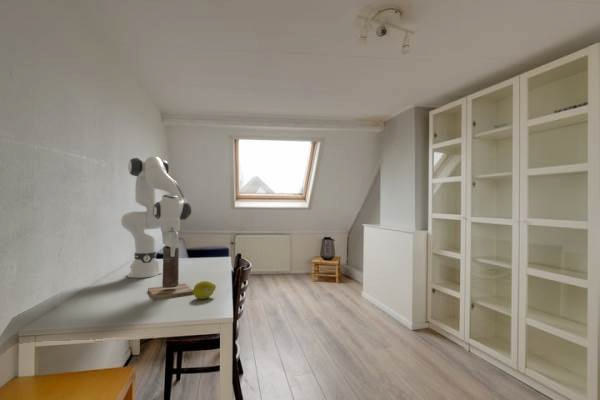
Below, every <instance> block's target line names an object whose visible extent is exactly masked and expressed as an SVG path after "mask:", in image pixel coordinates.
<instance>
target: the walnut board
mask: <svg viewBox="0 0 600 400" xmlns="http://www.w3.org/2000/svg"><path fill="white" fill-rule="evenodd" d="M147 291H148V293H149V296H151V298H152V300H153V301H157V299H159V300H163V299H164V298H165V299H171V297H172V298H177V297H184V296H190V295H194V294H193V292H192V291H193V288H191V287H190V286H189V285H188V284H187V283H184V282H183V283H178V285H177V286H176V287H171V288H163V287H162V286H154V287H148V288H147Z"/></svg>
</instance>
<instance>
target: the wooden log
mask: <svg viewBox="0 0 600 400" xmlns="http://www.w3.org/2000/svg"><path fill="white" fill-rule="evenodd" d="M179 250H180V249H179V247H178V248H175V256H174V257H171V256H170V253H171V250H170V247H168V246H166V245H165V246H163V249H162V251H163V252H162V255H163V256H162V282H161V283H162V287H163V288H171V287H176V286H177V285H178V284H179V273H180V272H179V262H180V261H179V260H180V259H179V257H180V256H179V255H180V254H179Z"/></svg>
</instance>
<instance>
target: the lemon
mask: <svg viewBox="0 0 600 400" xmlns="http://www.w3.org/2000/svg"><path fill="white" fill-rule="evenodd" d="M216 287H217V286H216V284H214V283H212V282H211V281H208V280H204V281H200V282H197V283H196V284H195V285H194V286H193V288H192V290H193V291H192V292H193V294H192V295H194V297H195V298H196V299H198V300H206V299H208V298H210V297H211V296H212V295H213V294H214V291H215V290H216Z"/></svg>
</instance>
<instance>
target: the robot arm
mask: <svg viewBox="0 0 600 400" xmlns="http://www.w3.org/2000/svg"><path fill="white" fill-rule="evenodd" d="M127 169H128V172H129V174H130V176H133V177H136V178H135V186H134V187H135V190H134V193H135V197H134V199H135V202H136V203H137V204H138V205H139V206H142V207H144V208H145V209H146V211H131V212H125V213H124V214H123V215H122V218H121V220H120V221H121V225H122V227H123V229H124V230H126V231H128V232H129V233H130V234H131V235H132V237H133V239H134V248H135V252H134V255H133V256H134V260H133V262H132V263H131V264H130V267H129V268H130V272H129V273H128V276H127V277H128V278H137V279H138V278H139V279H140V278H142V279H143V278H151V277H156V276H158V275H163V271H161V270H160V261H159V259H157V251H156V238H155V237H153V236H152V235H149V234H147V233H145V230H159V229H160V232H161V237H162V238H161V240H162V243H163V244H164V245H165V246H168V247H170V250H171V253H170V256H171V257H174V256H175V248H179V246H180V245H179V243H180V241H179V240H180V238H179V233H178V232H179V231H180V230H181V221H186V220H187V219H188V218H189V217H190V216H191V215H192V207H191V204H190V203H189V201H187V199H186V197H185V195H184V194H183V192H182V190H181V188H180V186H179V184H178V182H177V181H176V180H175V179H173V178H172V177H171V176H170V175H169V174H168V173H169V170H170V165H169V163H168V161H167V160H164V159H161V158H159V157H158V156H154V155H153V156H149V157H147V158H145V157H143V158H140V157H136V158H135V157H133V158H131V159H130V160H129V161H128V165H127ZM156 189H157V190H160V191H164V192H167V193H168V194H163V195H162V196H161V200H160V201H157V197H156V196H157V195H156Z"/></svg>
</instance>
